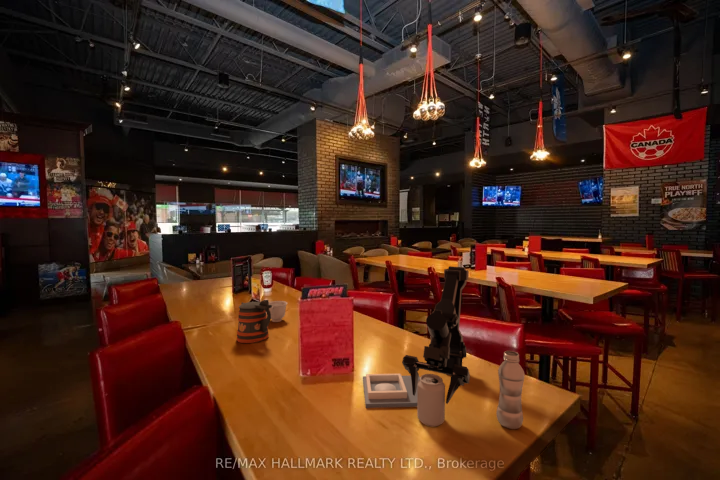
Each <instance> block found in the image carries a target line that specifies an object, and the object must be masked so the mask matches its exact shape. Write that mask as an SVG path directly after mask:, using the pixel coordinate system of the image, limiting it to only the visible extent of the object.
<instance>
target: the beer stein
mask: <svg viewBox="0 0 720 480" xmlns="http://www.w3.org/2000/svg"><path fill="white" fill-rule="evenodd" d="M269 302H270V301H269V299H263V300H261V301H249V302H242V301H241V304H240V305H239V306H238V309H239V311H238V318H237V321H238V325H237V330H236V341H237V342H238V343H240V344H253V343H259V342H262V341H265V340H267V339H268V338H269V336H270V334H269V325H270V323H271V320H272V319H271V313H270V310H269V308H272V305H269Z"/></svg>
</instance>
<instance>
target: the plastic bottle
mask: <svg viewBox="0 0 720 480" xmlns="http://www.w3.org/2000/svg"><path fill="white" fill-rule="evenodd" d="M503 360H504V361H502V363H501V364H500V365H499V366H498V369H497V371H498V372H497V374H498V382H499V383H498V384H499V396H498V403H497V404H498V405H497V408H496V414H495V415H496V419H497V421H498V422H499V424H500V425H501V426H502V427H504V428H507V429H509V430H511V429H512V430H516V429H517V430H518V429H520V428H521V427H522V426H523V421H524V414H523V408H522V394H523V387H524V383H525V382H524V381H525V375H526V374H525V371H524V369H523V368H522V366H521V365H520V354H519V352H516V351H513V350H506V351H504V352H503Z"/></svg>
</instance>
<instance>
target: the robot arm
mask: <svg viewBox="0 0 720 480" xmlns="http://www.w3.org/2000/svg"><path fill="white" fill-rule="evenodd" d="M469 274H470V273H469V270H467V268H466V267H463V266H448V268H444V270H443V279H444V280H445V281H444V285H443V289H442V294H441V299H440V301H439V302H437V303H436V304H435V307H434V309H433V311H432V312H431V313H430V314H429V315H428V316H427V317H426V320H425V323H426V326H427V329H428V332H429V335H430V337H431V338H430V343H428V346H427V345H424V346H423V347H424V348H423V355H422V356H423V358H424V361H425V362H423V361H419V358H418V357H417V356H415V355H408V354H405V355H404V356H403V357H402V362H401V363H402V366H403V368H404V369H405V370H406V371H407V373H409V374H410V375H409V376H411V380H412V391H413V395H414V396H415V393H416V389H417V383H418V377H420V373H419V370H420V369H421V370H424V371H430V372H433V373H438V374H443V375H447V376H450V381H449V385H448V389H447V393H446V396H445V405H448V404H449V403H450V401H451V399H452V398H453V396H454V394H455V392H457V390H458V389H459V388H460V386H465V384H466V385H467V384H470V380H471V379H470V376H471V374H470V370H469V368H468V367H467V366H464V365H463V359H464V358H467V347H466V345H465V342H464V336H463V334H462V332H461V331H460V321H461V305H462V304H461V303H462V291H463V290H464V288H465V286H466V285H467V281H468V280H469V278H470V277H469V276H470V275H469Z"/></svg>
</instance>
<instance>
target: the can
mask: <svg viewBox="0 0 720 480" xmlns="http://www.w3.org/2000/svg"><path fill="white" fill-rule="evenodd" d="M419 377H420V380H419V381H418V393H417V407H416V408H417V413H416V414H417V415H416V416H417V419H418V420H419V421H420V422H421V423H422V424H423V425H425V426H427V427H439V426H440V425H442V424H443V423H444V422H445V418H446V417H445V415H446V414H445V413H446V412H445V411H446V410H445V409H446V408H445V407H446V384H445V383H444V382H443V381H444V380H443V378H442V377H441V376H440V375H437V374H433V373H425V374H422V375H421V376H419Z"/></svg>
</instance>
